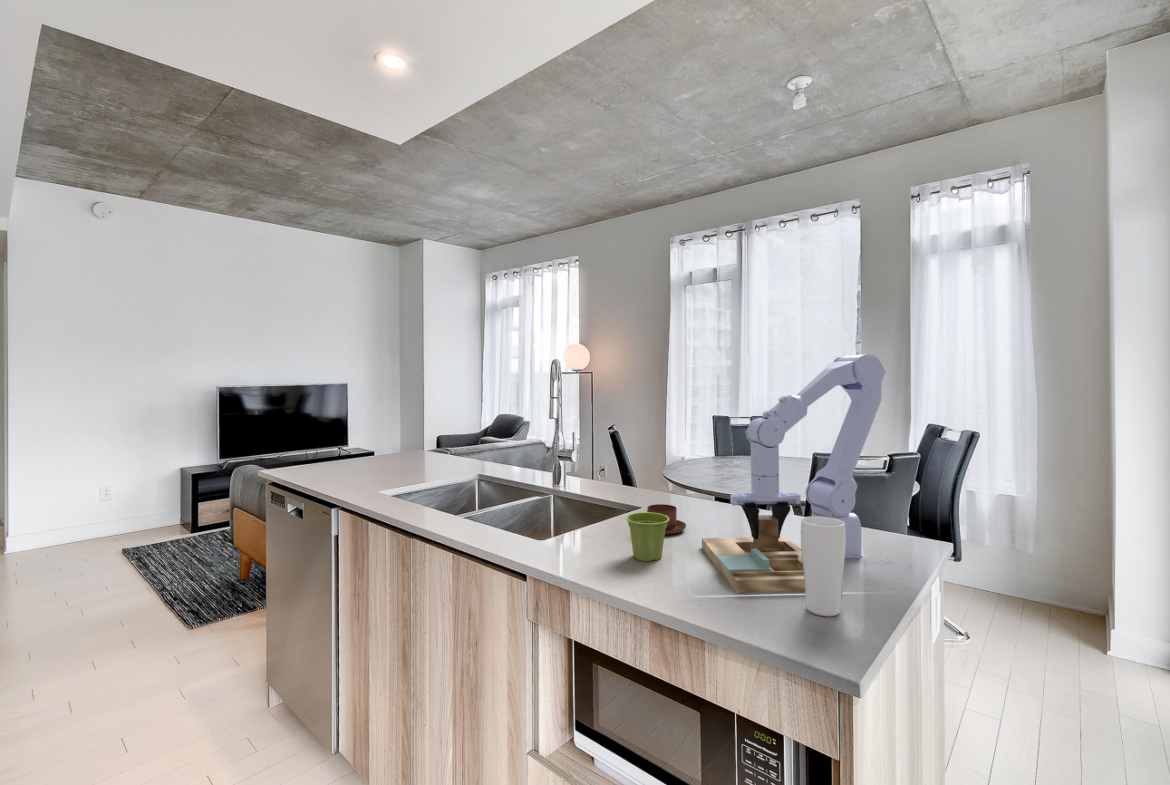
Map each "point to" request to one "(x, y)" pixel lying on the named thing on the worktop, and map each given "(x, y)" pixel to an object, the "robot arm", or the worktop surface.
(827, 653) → the worktop surface
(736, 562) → the lid
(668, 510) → the cup and saucer
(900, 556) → the worktop surface
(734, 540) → the board
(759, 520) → the block
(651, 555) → the plant pot
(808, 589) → the drinking glass
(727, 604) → the worktop surface
